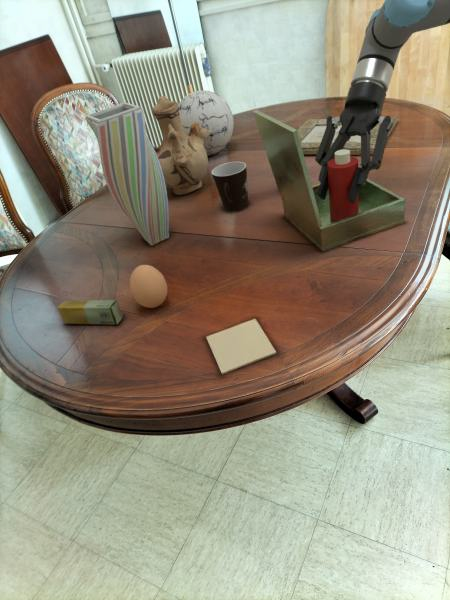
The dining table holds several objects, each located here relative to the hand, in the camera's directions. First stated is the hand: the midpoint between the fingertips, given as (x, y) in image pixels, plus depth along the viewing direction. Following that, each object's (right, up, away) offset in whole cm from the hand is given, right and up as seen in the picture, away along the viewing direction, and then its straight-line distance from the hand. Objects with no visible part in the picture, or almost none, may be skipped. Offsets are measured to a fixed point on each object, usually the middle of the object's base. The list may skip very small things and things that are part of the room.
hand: (335, 199), depth 86 cm
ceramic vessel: (-35, +11, +37) cm, 51 cm away
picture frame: (+12, +29, +44) cm, 55 cm away
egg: (-36, -22, -5) cm, 43 cm away
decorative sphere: (-28, +30, +58) cm, 71 cm away
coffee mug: (-21, +3, +21) cm, 30 cm away
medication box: (-48, -25, -5) cm, 55 cm away
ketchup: (+3, -2, +5) cm, 7 cm away
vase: (-40, -6, +17) cm, 44 cm away
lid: (-10, +5, -5) cm, 13 cm away
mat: (-21, -28, -19) cm, 40 cm away
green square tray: (+3, -3, +6) cm, 7 cm away
